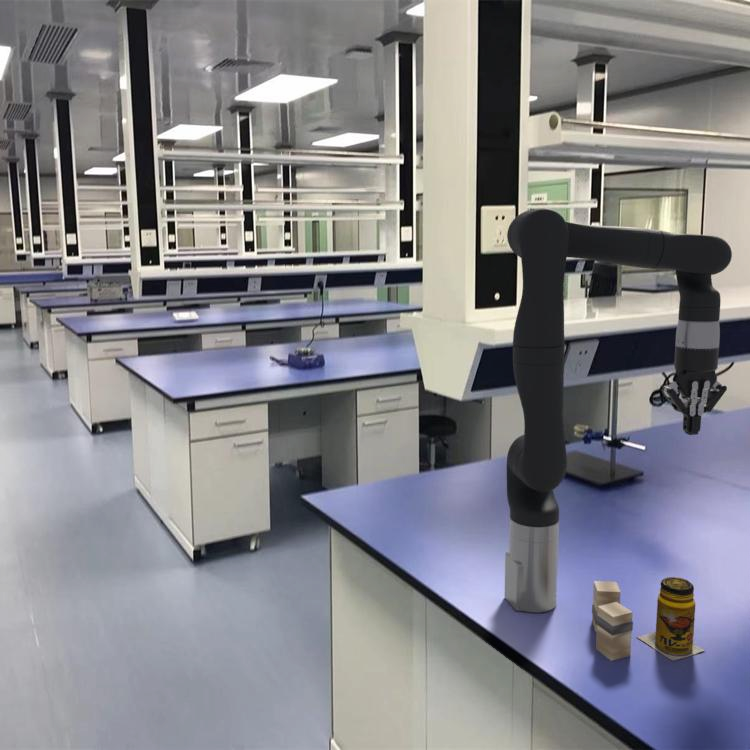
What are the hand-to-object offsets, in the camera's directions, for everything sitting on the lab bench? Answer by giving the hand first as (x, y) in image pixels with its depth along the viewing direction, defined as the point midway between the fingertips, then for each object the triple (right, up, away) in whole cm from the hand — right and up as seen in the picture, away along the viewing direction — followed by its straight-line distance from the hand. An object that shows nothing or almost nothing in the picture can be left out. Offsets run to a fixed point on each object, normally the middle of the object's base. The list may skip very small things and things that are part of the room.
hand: (691, 433), depth 142 cm
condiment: (-9, -36, -12) cm, 39 cm away
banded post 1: (-18, -35, -6) cm, 40 cm away
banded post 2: (-20, -36, -15) cm, 44 cm away
